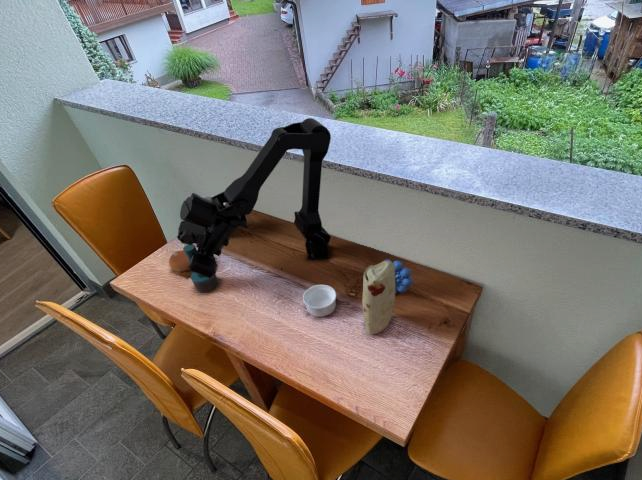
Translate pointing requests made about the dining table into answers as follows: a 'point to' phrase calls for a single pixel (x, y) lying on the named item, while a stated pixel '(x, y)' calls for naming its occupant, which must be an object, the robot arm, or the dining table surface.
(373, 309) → the food model
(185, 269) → the burger
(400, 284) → the grapes
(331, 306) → the ramekin
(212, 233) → the robot arm
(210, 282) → the teal peg stand
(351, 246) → the dining table surface
